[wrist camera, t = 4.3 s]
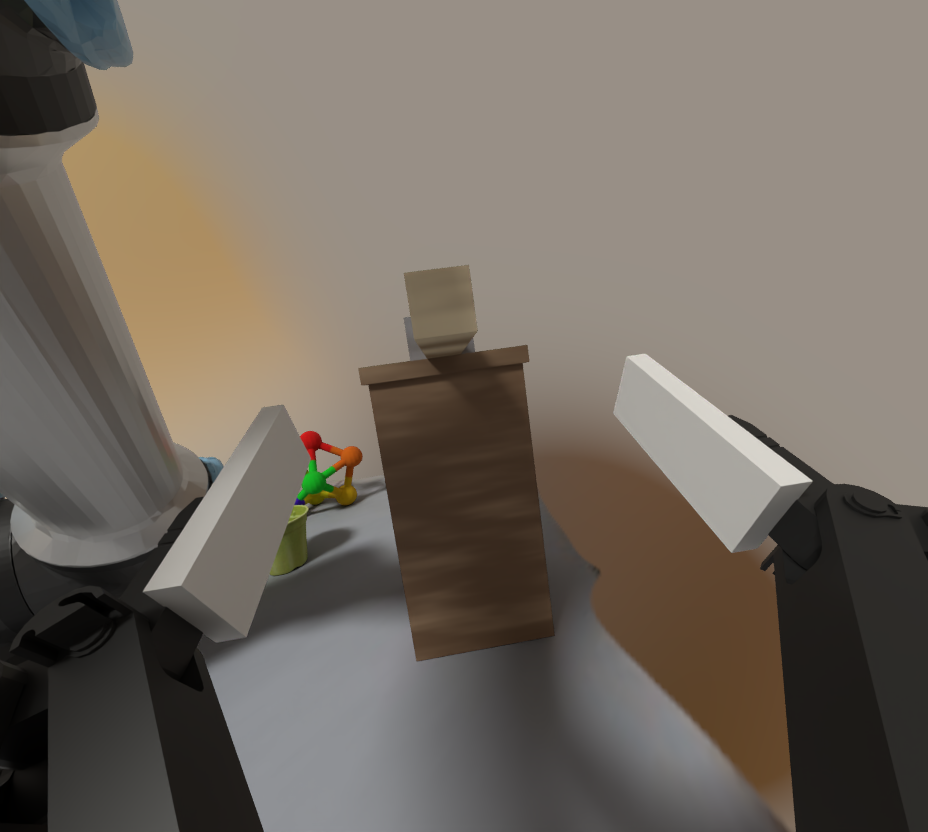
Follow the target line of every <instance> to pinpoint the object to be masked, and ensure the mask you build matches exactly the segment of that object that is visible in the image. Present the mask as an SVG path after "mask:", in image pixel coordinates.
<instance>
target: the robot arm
mask: <svg viewBox="0 0 928 832" xmlns="http://www.w3.org/2000/svg"><path fill="white" fill-rule="evenodd" d="M132 60H133V51H132V47H131V43H130V40H129V37H128V33H127V30H126V27H125V23H124V20H123V17H122V14H121V11H120V8H119V5H118V2H117V0H0V832H264V830H263V828H262V825H261V822H260V819H259V816H258V813H257V810H256V807H255V805H254V802H253V799H252V796H251V793H250V790H249V787H248V784H247V782H246V779H245V776H244V773H243V770H242V767H241V764H240V761H239V759H238V756H237V753H236V750H235V747H234V744H233V741H232V738H231V735H230V733H229V730H228V727H227V724H226V721H225V718H224V715H223V712H222V710H221V707H220V704H219V701H218V698H217V695H216V692H215V689H214V687H213V684H212V681H211V678H210V675H209V672H208V669H207V666H206V664H205V661H204V658H203V655H202V654H201V652H200V651H199V650H198V649H197V648H196V647H197V645H198V643H199V641H200V639H201V636H202V634H204V635H205V636H207V637H208V638H210V639H211V640H212V641H214V642H215V643H218V642H223V641H229V640H235V639H241V638H246V637H247V635H248V632H249V629H250V626H251V623H252V621H253V618H254V615H255V612H256V610H257V607H258V604H259V601H260V599H261V596H262V593H263V590H264V587H265V585H266V582H267V579H268V576H269V574H270V571H271V568H272V565H273V562H274V560H275V557H276V554H277V551H278V549H279V546H280V543H281V540H282V538H283V535H284V532H285V529H286V526H287V524H288V521H289V518H290V515H291V513H292V510H293V507H294V504H295V501H296V499H297V496H298V493H299V490H300V488H301V485H302V482H303V479H304V477H305V474H306V471H307V468H308V465H309V463H310V460H311V457H310V455H309V453H308V451H307V449H306V448H305V446H304V444H303V442H302V440H301V438H300V436H299V434H298V432H297V430H296V428H295V426H294V424H293V422H292V420H291V418H290V416H289V414H288V412H287V410H286V409H285V407H284V405H277V406H271V407H263V408H262V409H261V411H260V412H259V414H258V415H257V417H256V418H255V420H254V421H253V423H252V424H251V426H250V427H249V429H248V430H247V432H246V434H245V435H244V437H243V438H242V440H241V441H240V443H239V444H238V446H237V447H236V449H235V451H234V452H233V454H232V455H231V457H230V458H229V460H228V461H227V463H226V464H225V466H223V464H222V463H221V461H220V460H218V459H216V458H214V457H208V458H204V457H197V456H196V455H195V454H194V453H193V452H192V451H190V450H189V449H187V448H185V447H183V446H181V445H179V444H176V443H173V441H172V439H171V436H170V434H169V431H168V429H167V426H166V423H165V421H164V418H163V416H162V414H161V411H160V408H159V406H158V403H157V401H156V398H155V396H154V393H153V391H152V388H151V386H150V383H149V380H148V378H147V376H146V373H145V370H144V368H143V365H142V363H141V361H140V358H139V355H138V353H137V350H136V348H135V345H134V343H133V340H132V338H131V335H130V333H129V330H128V327H127V325H126V323H125V320H124V317H123V315H122V312H121V310H120V307H119V305H118V302H117V300H116V297H115V295H114V292H113V290H112V287H111V284H110V282H109V280H108V277H107V274H106V272H105V269H104V267H103V264H102V262H101V259H100V257H99V254H98V252H97V249H96V247H95V244H94V242H93V239H92V236H91V234H90V231H89V229H88V226H87V224H86V221H85V219H84V216H83V214H82V211H81V209H80V207H79V204H78V201H77V199H76V196H75V194H74V191H73V189H72V186H71V183H70V181H69V178H68V176H67V173H66V171H65V168H64V166H63V163H62V156H63V154H64V152H65V151H66V150H67V149H69V148H70V147H71V146H73V145H74V144H75V143H76V142H78V141H79V140H80V139H82V138H83V137H84V136H86V135H87V134H88V133H89V132H91V131H92V130H93V129H94V128H95V127H96V126H97V123H98V120H99V115H98V110H97V106H96V103H95V99H94V96H93V93H92V89H91V86H90V83H89V80H88V76H87V73H86V69H85V66H84V64H86V65H89V66H92V67H94V68H97V69H99V70H107V69H108V68H110V67H111V66H113V67H127V66H128V65H130V64H131V63H132ZM613 413H614V415H615V416H616V417H617V418H618V419H619V421H620V422H621V423H622V424H623V425H624V426H625V428H626V429H627V430H628V431H629V432H630V433H631V435H632V436H633V437H634V438H635V439H636V441H637V442H638V443H639V444H640V445H641V446H642V448H643V449H644V450H645V451H646V452H647V454H648V455H649V456H650V457H651V458H652V460H653V461H654V462H655V463H656V464H657V465H658V467H659V468H660V469H661V470H662V471H663V473H664V474H665V475H666V476H667V477H668V478H669V480H670V481H671V482H672V483H673V484H674V485H675V487H676V488H677V489H678V490H679V491H680V493H681V494H682V495H683V496H684V497H685V499H686V500H687V501H688V502H689V503H690V504H691V505H692V507H693V508H694V509H695V510H696V511H697V513H698V514H699V515H700V516H701V517H702V519H703V520H704V521H705V522H706V523H707V524H708V526H709V527H710V528H711V529H712V530H713V532H714V533H715V534H716V535H717V536H718V537H719V539H720V540H721V541H722V542H723V543H724V545H725V546H726V547H727V548H728V549H729V550H730V552H732V553H733V552H739V551H745V550H751V549H756V548H758V547H759V546H760V545H761V544H762V542H763V541H764V540H765V539H766V538H767V536H768V535H769V536H770V537H771V538H772V539H773V540H774V541H775V542H776V543H777V544H778V545H777V546H776V547H775V549H774V550H773V551H772V552H771V553H770V554H769V555H768V557H767V558H766V559H765V560H764V561H763V562H762V564H761V568H760V569H761V570H764V571H766V570H767V568H768V567H769V566H770V565H771V564H772V563H774V569H775V571H774V572H773V574H774V575H775V582H776V594H777V605H778V618H779V631H780V643H781V655H782V667H783V679H784V691H785V704H786V716H787V728H788V739H789V752H790V763H791V764H790V765H791V776H792V787H793V801H794V812H795V824H796V832H928V507H919V506H908V505H898V504H895V503H893V502H892V501H891V500H889V499H887V498H885V497H884V496H882V495H880V494H878V493H876V492H874V491H871V490H868V489H865V488H862V487H859V486H854V485H849V484H833V483H831V482H830V481H829V480H827V479H826V478H825V477H823V476H822V475H821V474H819V473H818V472H816V471H815V470H814V469H812V468H811V467H810V466H808V465H807V464H805V463H804V462H803V461H801V460H800V459H799V458H797V457H796V456H795V455H793V454H792V453H790V452H789V451H788V450H786V449H785V448H784V447H780V446H779V444H778V443H777V442H775V441H774V440H773V439H771V438H770V437H769V438H767V436H766V434H764V433H763V432H762V431H760V430H759V429H758V428H756V427H755V426H753V425H752V424H750V423H748V422H746V421H744V420H741V419H739V418H737V417H735V416H733V415H729V416H727V415H725V414H724V413H723V412H721V411H720V410H719V409H717V408H716V407H715V406H713V405H712V404H711V403H710V402H708V401H707V400H706V399H704V398H703V397H702V396H700V395H699V394H698V393H696V392H695V391H694V390H693V389H691V388H690V387H688V386H687V385H686V384H685V383H683V382H682V381H681V380H679V379H678V378H677V377H675V376H674V375H673V374H671V373H670V372H669V371H668V370H666V369H665V368H663V367H662V366H661V365H660V364H658V363H657V362H656V361H654V360H653V359H651V358H650V357H649V356H648V355H647V354H640V355H634V356H627V357H626V361H625V365H624V370H623V374H622V378H621V382H620V387H619V391H618V395H617V400H616V404H615V408H614V412H613ZM5 497H6V498H7V499H5Z"/></svg>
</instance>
